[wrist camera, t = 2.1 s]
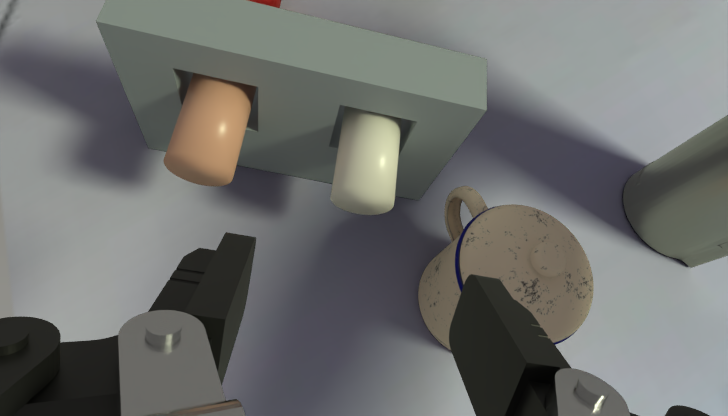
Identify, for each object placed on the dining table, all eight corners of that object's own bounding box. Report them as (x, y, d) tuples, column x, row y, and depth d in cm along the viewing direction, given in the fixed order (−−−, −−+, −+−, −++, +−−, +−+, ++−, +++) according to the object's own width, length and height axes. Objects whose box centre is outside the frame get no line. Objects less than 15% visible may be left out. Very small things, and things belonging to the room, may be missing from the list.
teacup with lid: (541, 337, 36) (655, 307, 26) (442, 380, 33) (526, 365, 23) (476, 203, 40) (553, 130, 30) (382, 231, 37) (430, 161, 27)
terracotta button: (198, 90, 32) (191, 50, 28) (257, 103, 33) (256, 64, 29) (170, 179, 29) (157, 146, 25) (234, 190, 30) (231, 160, 26)
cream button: (340, 121, 33) (350, 86, 30) (393, 132, 34) (409, 99, 30) (326, 208, 30) (335, 180, 27) (385, 219, 31) (401, 193, 27)
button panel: (163, 106, 38) (120, -31, 26) (421, 160, 41) (486, 58, 29) (148, 148, 36) (95, 21, 24) (418, 200, 39) (486, 110, 27)
